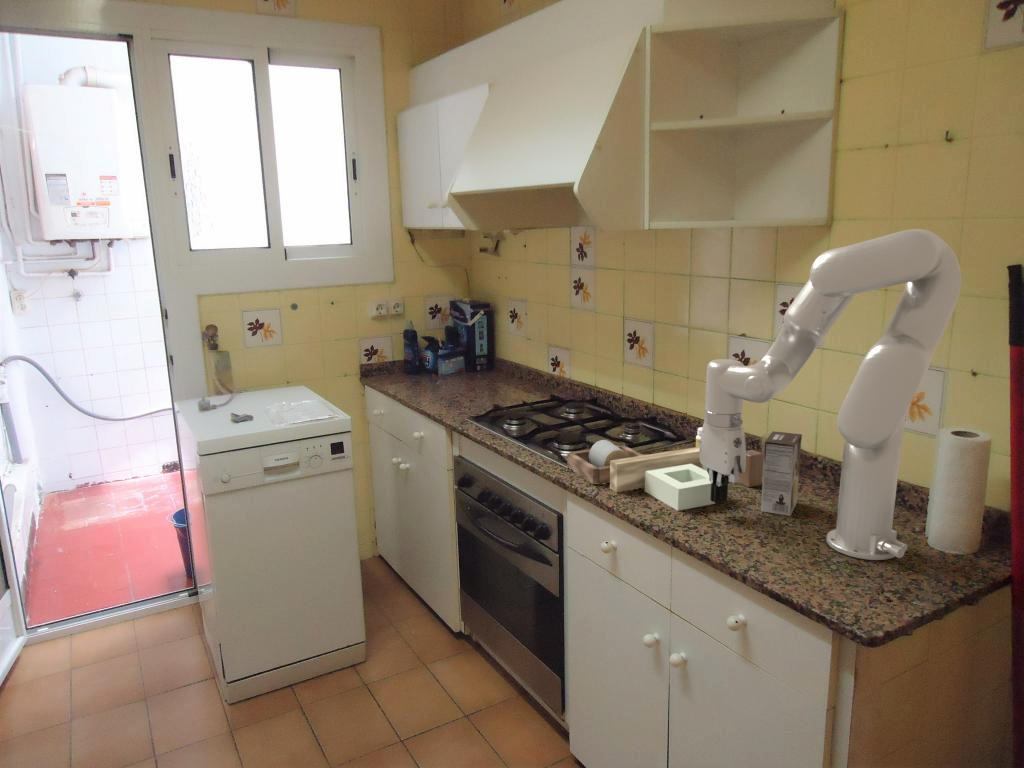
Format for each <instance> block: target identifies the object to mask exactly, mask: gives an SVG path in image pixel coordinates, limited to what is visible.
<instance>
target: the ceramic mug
mask: <svg viewBox="0 0 1024 768" xmlns="http://www.w3.org/2000/svg"><path fill="white" fill-rule="evenodd" d="M624 458H628V457H627V455H626V453H625V452H624V451H623V450H621V449H620V448H618V447H617V446H616V444H614V443H612V442H611V441H609V440H607V439H601V440H597V441H596V442H595V443H594V444H593V445H592V446H591V448H590V452H589V460H590V463H591V464H592V465H593V466H595V467H597V468H598V467H604V466H610V461H611V460H618V459H624Z"/></svg>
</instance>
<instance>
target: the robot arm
mask: <svg viewBox="0 0 1024 768" xmlns="http://www.w3.org/2000/svg"><path fill="white" fill-rule="evenodd" d="M901 284H905V285H904V289H903V292H902V294H901V296H900V299H899V300H898V303H897V304H896V306H895V308H894V312H893V314H892V315H891V318H890V320H889V323H888V325H887V326H886V329H885V331H884V332H883V334H882V336H881V337H880V339H879V340H878V341H876V342H875V343H874V344H873V345H872V346H871V348H870V349H869V350H868V351H867V353H866V354H865V356H864V358H863V359H862V361H861V362H860V363H861V364H860V366H859V367H858V370H857V373H856V374H855V376H854V378H853V381H852V383H851V385H850V387H849V389H848V391H847V393H846V396H845V398H844V401H843V402H842V405H841V407H840V409H839V412H838V414H837V428H838V431H839V432H840V433H839V434H840V435H841V436H842V437H843V439H844V444H843V453H842V460H841V462H842V463H841V471H840V480H839V481H840V482H839V494H838V505H837V516H836V527H835V528H834V529H831V530H830V531H829V532H827V534H826V543H827V545H829V547H830V548H831V549H832V550H835V551H836V552H838V553H840V554H843V555H846V556H849V557H851V558H856V559H861V560H869V561H886V560H889V559H894V558H895V557H896V558H898V559H901V558H903V557H904V555H905V552H906V551H907V550H908V544H906V543H904V542H901V541H899V540H898V539H897V536H898V531H897V530H894V529H893V523H894V514H895V513H894V512H895V505H896V504H895V503H896V495H897V488H898V487H897V485H898V477H899V469H900V468H899V467H900V461H901V452H902V444H903V439H904V438H903V437H904V432H905V425H906V417H907V416H906V415H907V412H908V409H909V407H910V405H911V403H912V401H913V399H914V397H915V395H916V393H917V392H918V390H919V387H920V386H921V383H922V382H923V380H924V378H925V376H926V374H927V373H928V370H930V369H929V368H930V365H931V361H932V360H933V359H932V358H933V356H934V353H935V352H936V349H937V348H938V345H939V344H940V340H941V339H942V337H943V336H944V335H943V334H944V333H945V330H946V328H947V326H948V323H949V321H950V319H951V317H952V315H953V313H954V310H955V308H956V306H957V303H958V301H959V298H960V295H961V288H962V272H961V265H960V262H959V260H958V258H957V256H956V254H955V252H954V251H953V249H952V248H951V247H950V246H949V244H948V243H947V241H945V240H944V239H943V238H941V236H939V235H938V234H936V233H934V232H932V231H931V230H928V229H922V228H912V229H906V230H900V231H897V232H893V233H890V234H886V235H882V236H878V237H876V238H872V239H868V240H865V241H861V242H858V243H854V244H850V245H846V246H841V247H837V248H832V249H829V250H826V251H824V252H822V253H821V254H820V255H818V256H817V257H816V258H815V260H814V261H813V262H812V265H811V267H810V271H809V279H808V280H807V282H805V284H804V286H803V287H802V288H801V290H800V291H799V293H798V294H797V295H796V297H795V298H794V299H793V301H792V302H791V304H790V305H789V306H788V308H787V309H786V311H785V313H784V315H783V321H782V322H783V324H782V328H781V330H780V332H779V334H778V336H777V337H776V339H775V341H774V342H773V343H772V345H771V346H770V348H769V350H768V351H766V353H765V354H764V356H763V357H762V358H761V360H760V361H758V362H756V363H754V364H751V365H745V364H744V363H743V362H742V361H739V360H738V359H731V358H717V359H713V360H711V361H709V362H708V364H707V366H706V382H705V400H704V401H705V402H704V421H703V424H702V427H703V428H702V433H701V440H700V451H699V458H700V462H701V463H702V467H703V468H704V469H705V470H706V471H707V472H708V474H709V481H710V483H712V484H711V496H710V500H711V501H712V502H714V503H715V504H720V503H726V502H727V501H728V494H729V492H728V491H729V489H728V487H729V485H731V483H737V482H738V481H739V473H744V472H745V469H746V451H747V446H746V445H747V443H746V442H747V441H746V435H745V434H746V433H745V429H744V427H742V424H743V406H744V401H747V402H751V403H756V404H762V403H766V402H770V401H771V400H772V399H774V398H775V397H776V396H777V395H779V394H780V393H782V392H783V391H784V390H786V389H787V387H789V386H790V384H791V383H792V382H793V380H794V379H795V378H796V376H797V375H798V374H799V372H800V371H801V370H802V368H803V367H804V366H805V364H806V363H807V362H808V360H809V359H810V357H811V356H812V355H813V353H814V352H815V350H816V349H817V348H818V347H819V345H821V343H822V341H824V338H825V337H826V336H827V335H828V333H829V331H831V329H832V327H834V325H835V323H836V322H837V321H838V320H839V318H840V317H841V316H842V314H843V313H844V312H845V310H846V309H847V307H848V306H849V305H850V304H851V303H852V301H853V300H854V299H855V297H856V296H857V295H858V294H863V293H867V292H871V291H875V290H880V289H884V288H888V287H892V286H896V285H897V286H898V285H901ZM738 483H739V482H738Z"/></svg>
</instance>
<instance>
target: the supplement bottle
mask: <svg viewBox="0 0 1024 768" xmlns="http://www.w3.org/2000/svg"><path fill="white" fill-rule="evenodd" d="M702 428H703V426H701V427H697V431H696V432H697V433H696V434H697V435H696V437H695V447H700V440H701V433H702Z"/></svg>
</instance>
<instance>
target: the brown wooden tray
mask: <svg viewBox="0 0 1024 768" xmlns="http://www.w3.org/2000/svg"><path fill="white" fill-rule="evenodd" d="M615 446H617V447H618V448H620V449H621V450H623V451H624V452H625V453H626V455H627V457H628V458H630V457H637V456H643V455H644V454H642V453H640V452H638V451H636V450H634V449H632V448H630V447H628V446H627V445H624V444H623V445H616V444H615ZM590 449H591V448H590ZM590 449H584V450H577V451H572V452H570V453H567V455H566V456H567V458H566V459H567V460H566V461H567V462H566V463H567V464H566V466H569V467H570V468H571V469H572V470H573V471H575V472H577V473H578V474H579V475H581V476H582V477H584V478H585V479H587V480H588V481H590V482H591V483H593V484H594V483H599V484H603V483H610V466H604V467H598V468H597V467H595V466H593V465H592V464H590V460H589V452H590ZM588 462H589V463H588ZM599 484H598V485H599Z"/></svg>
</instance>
